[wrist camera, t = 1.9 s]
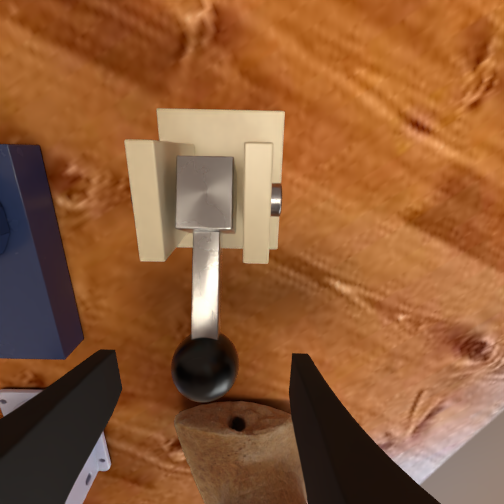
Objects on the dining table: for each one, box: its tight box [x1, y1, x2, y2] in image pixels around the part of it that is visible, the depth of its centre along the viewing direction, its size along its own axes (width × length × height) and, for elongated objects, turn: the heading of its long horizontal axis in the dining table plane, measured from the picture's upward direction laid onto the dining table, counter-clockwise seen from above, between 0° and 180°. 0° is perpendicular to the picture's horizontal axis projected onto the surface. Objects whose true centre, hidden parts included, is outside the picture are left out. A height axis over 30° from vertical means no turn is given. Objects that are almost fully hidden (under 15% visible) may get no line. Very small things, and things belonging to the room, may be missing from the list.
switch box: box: [124, 108, 285, 264], centre depth 14 cm, size 8×7×8 cm
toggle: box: [171, 155, 239, 402], centre depth 12 cm, size 10×3×3 cm, turn 178°
